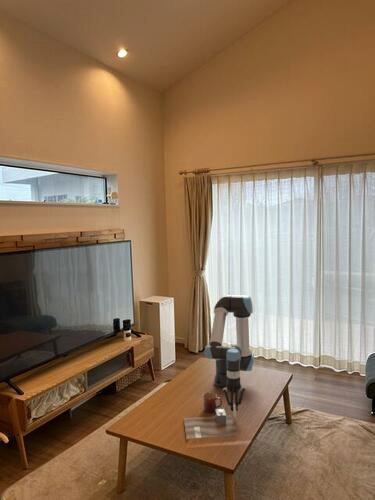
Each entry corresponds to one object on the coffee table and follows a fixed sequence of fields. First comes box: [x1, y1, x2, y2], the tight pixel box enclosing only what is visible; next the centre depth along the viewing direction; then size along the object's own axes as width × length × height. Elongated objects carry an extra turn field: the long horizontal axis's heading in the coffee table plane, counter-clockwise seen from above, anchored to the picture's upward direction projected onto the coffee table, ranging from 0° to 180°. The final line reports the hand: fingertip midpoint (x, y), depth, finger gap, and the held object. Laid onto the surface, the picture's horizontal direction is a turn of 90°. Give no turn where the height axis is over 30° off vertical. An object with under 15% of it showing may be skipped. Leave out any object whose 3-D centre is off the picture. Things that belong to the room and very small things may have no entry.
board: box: [183, 414, 239, 442], centre depth 208 cm, size 23×28×1 cm
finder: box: [214, 408, 227, 424], centre depth 212 cm, size 7×5×5 cm
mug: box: [202, 391, 223, 414], centre depth 223 cm, size 12×9×10 cm
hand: (234, 416), depth 212 cm, fingers closed
